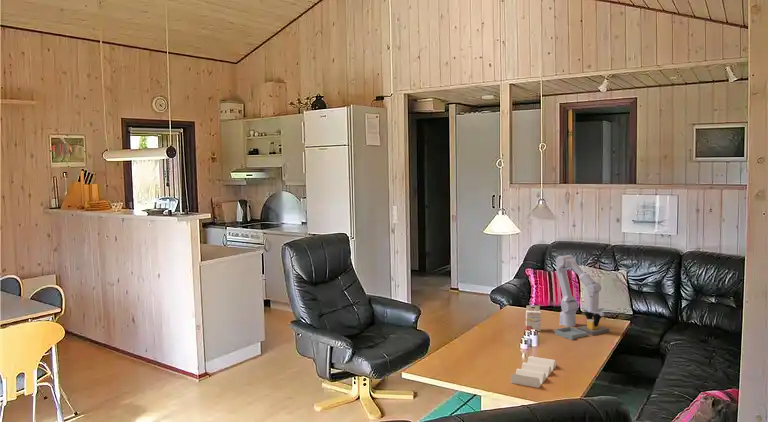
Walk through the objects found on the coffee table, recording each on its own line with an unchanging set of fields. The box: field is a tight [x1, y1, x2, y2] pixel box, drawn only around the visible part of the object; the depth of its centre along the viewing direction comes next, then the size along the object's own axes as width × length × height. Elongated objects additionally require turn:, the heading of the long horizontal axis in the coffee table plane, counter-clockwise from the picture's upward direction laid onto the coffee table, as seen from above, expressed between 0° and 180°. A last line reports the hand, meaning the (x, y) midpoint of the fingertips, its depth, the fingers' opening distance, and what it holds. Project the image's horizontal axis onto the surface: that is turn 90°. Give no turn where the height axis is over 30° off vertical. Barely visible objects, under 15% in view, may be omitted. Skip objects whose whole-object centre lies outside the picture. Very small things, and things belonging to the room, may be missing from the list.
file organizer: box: [510, 355, 558, 388], centre depth 293 cm, size 13×35×5 cm, turn 151°
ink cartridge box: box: [525, 305, 542, 332], centre depth 367 cm, size 9×5×15 cm, turn 84°
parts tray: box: [554, 326, 588, 341], centre depth 355 cm, size 14×12×3 cm
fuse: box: [586, 318, 600, 330], centre depth 360 cm, size 4×6×7 cm
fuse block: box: [576, 324, 610, 336], centre depth 361 cm, size 12×14×3 cm
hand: (593, 325), depth 360 cm, fingers closed on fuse, 4 cm apart
